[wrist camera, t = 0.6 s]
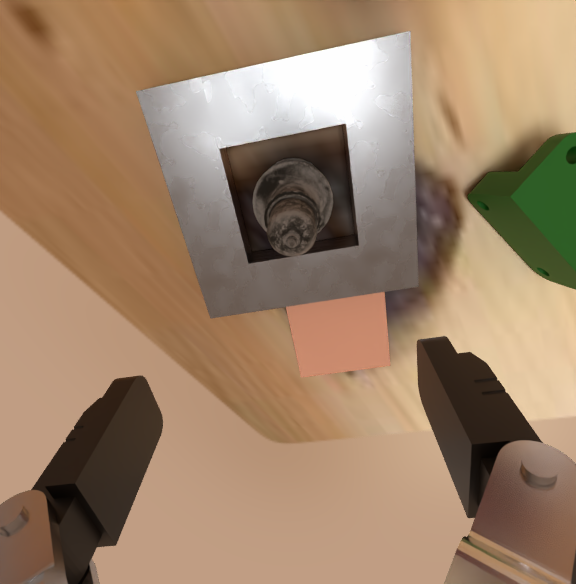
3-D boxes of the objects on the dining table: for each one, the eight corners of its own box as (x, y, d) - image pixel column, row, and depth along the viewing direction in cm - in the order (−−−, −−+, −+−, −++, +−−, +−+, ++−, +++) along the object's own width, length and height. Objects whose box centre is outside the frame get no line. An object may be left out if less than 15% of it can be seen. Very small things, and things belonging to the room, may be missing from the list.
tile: (284, 298, 35) (284, 301, 35) (382, 283, 34) (384, 286, 34) (301, 373, 39) (301, 377, 39) (389, 361, 39) (390, 365, 38)
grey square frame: (148, 91, 28) (136, 91, 25) (400, 36, 26) (410, 30, 24) (215, 304, 36) (210, 318, 34) (410, 273, 34) (418, 286, 32)
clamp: (546, 206, 35) (660, 246, 29) (500, 255, 36) (599, 306, 29) (513, 111, 28) (659, 135, 21) (456, 177, 28) (577, 220, 22)
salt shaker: (326, 228, 32) (342, 295, 22) (257, 225, 32) (238, 292, 22) (332, 154, 29) (353, 190, 19) (256, 152, 29) (233, 186, 19)
